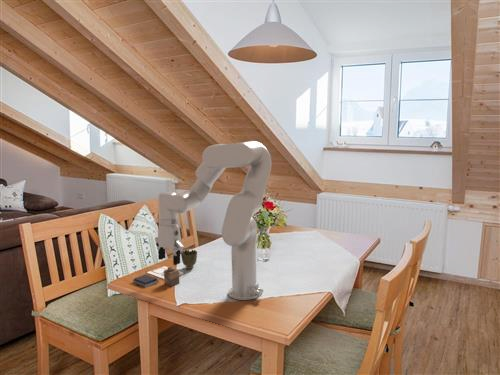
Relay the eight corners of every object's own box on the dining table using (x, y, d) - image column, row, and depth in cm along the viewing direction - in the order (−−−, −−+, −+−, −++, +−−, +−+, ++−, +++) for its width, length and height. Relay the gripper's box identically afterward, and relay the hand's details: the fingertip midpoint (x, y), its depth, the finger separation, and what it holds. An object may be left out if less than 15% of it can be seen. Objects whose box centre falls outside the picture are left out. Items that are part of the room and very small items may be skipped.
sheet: (184, 273, 189) (184, 272, 189) (166, 280, 182) (166, 279, 182) (164, 266, 198) (164, 266, 198) (146, 272, 191) (146, 272, 191)
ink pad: (159, 282, 179) (158, 278, 179) (145, 287, 174) (145, 283, 174) (146, 277, 185) (146, 273, 185) (132, 282, 180) (132, 278, 180)
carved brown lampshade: (199, 265, 199) (198, 249, 197) (195, 271, 192) (195, 254, 190) (183, 265, 200) (183, 249, 198) (179, 271, 192) (179, 254, 191)
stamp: (179, 283, 178) (178, 267, 177) (171, 286, 175) (170, 270, 173) (172, 281, 181) (171, 265, 180) (164, 284, 177) (163, 268, 176)
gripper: (189, 223, 171) (189, 264, 174) (162, 216, 182) (163, 254, 185) (174, 227, 165) (175, 268, 168) (148, 219, 176) (149, 258, 179)
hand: (169, 261), depth 176 cm, fingers open, 9 cm apart
